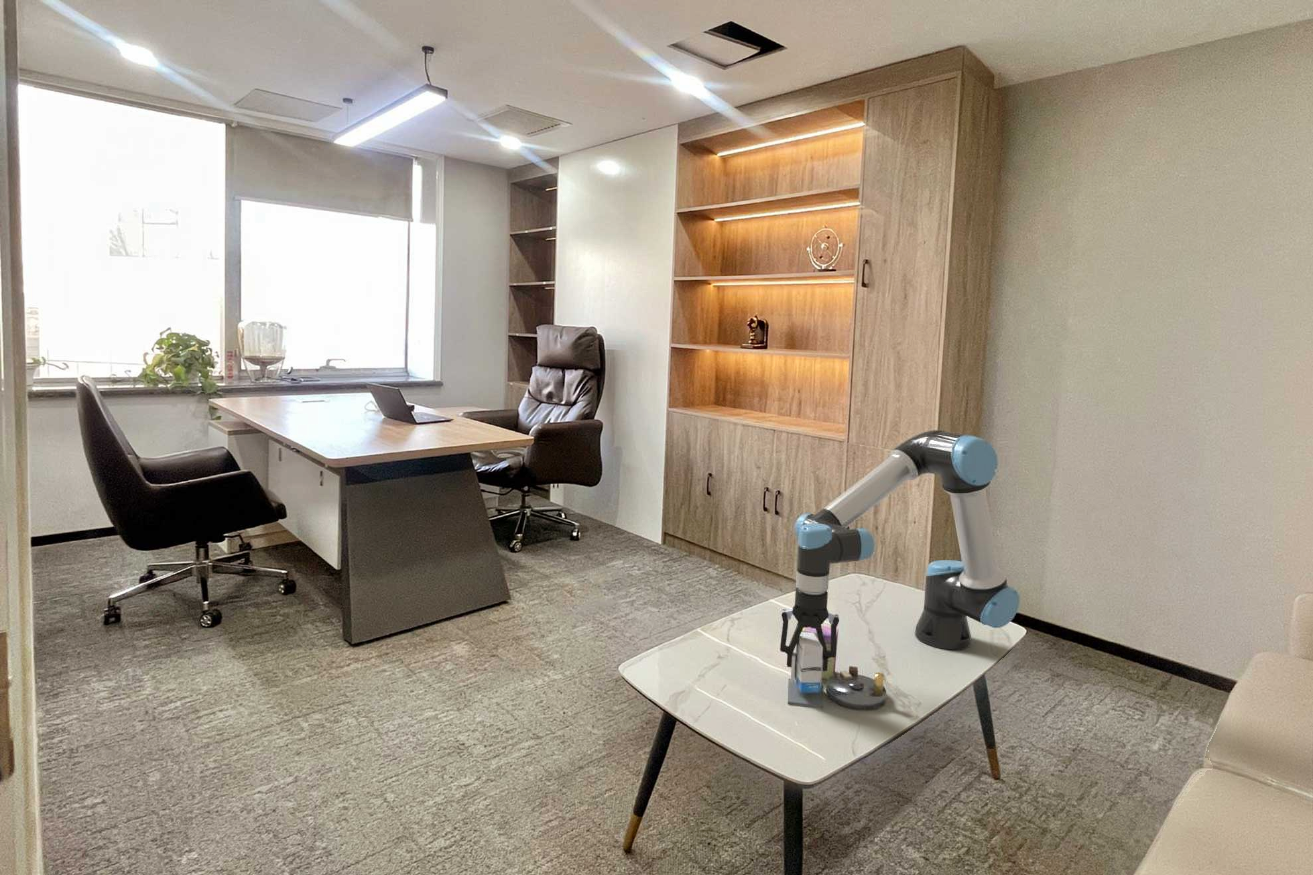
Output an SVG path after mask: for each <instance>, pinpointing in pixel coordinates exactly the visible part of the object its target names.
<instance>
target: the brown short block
mask: <svg viewBox="0 0 1313 875" xmlns="http://www.w3.org/2000/svg"><path fill="white" fill-rule="evenodd" d="M848 673H849V674H858V675H859V669H858V666H853V665H852V666H851V665H849V667H848Z"/></svg>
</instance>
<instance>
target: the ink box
mask: <svg viewBox="0 0 1313 875" xmlns="http://www.w3.org/2000/svg"><path fill="white" fill-rule="evenodd" d="M793 652H795V671H794V680H795V682H796V684H797V686H798V688H799V690H800V692H801V693H816V692H820V680H821V665H822V653H823V646H822V645H821V643H820V642H819V640H818V639H817V637H816V636H815V634H814V633H807V632H801V634H800V636H799V639H798V641H797V644H796V646H795V649H794V651H793Z"/></svg>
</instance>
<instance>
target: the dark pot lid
mask: <svg viewBox="0 0 1313 875" xmlns="http://www.w3.org/2000/svg"><path fill="white" fill-rule="evenodd" d="M884 678H885V674H883V673H881V672H875V673H874V678H872V677H870V676H865V675H862V674H859V673H858V674H849V671H846V670H845V671H844V670H843V671H842V670H841V671H840V672H839V673H838V674H834V675H833V676H831V677H830V678H828V679H827V680H826V682H825V694H826V696H827V697H828V698H829V699H831V700H832V701H833V702H835V703H836V704H839V705H841V706H844V707H847V708H850V709H856V710H874V709H878V708H880V707H882V706H883V705H885V703H886V699H887V689H886V687H885V686H884V680H885V679H884Z"/></svg>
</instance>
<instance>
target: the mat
mask: <svg viewBox="0 0 1313 875" xmlns="http://www.w3.org/2000/svg"><path fill="white" fill-rule="evenodd" d="M787 683H788V684H787V688H788V689H787V705H795V706H802V707H810V708H817V709H823V708H824V707H823V706H824V704H823V693H822V692H823V689H822V684H821V685H820V692H816V693H801V692H800V690H799V688H798V686H797V684H796V682H795V680H794V682H791V678H788V682H787Z"/></svg>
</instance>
